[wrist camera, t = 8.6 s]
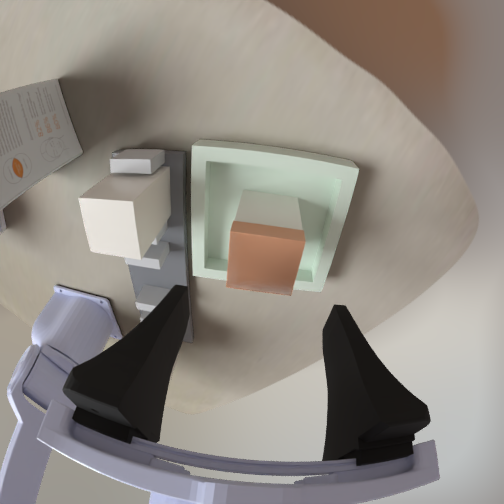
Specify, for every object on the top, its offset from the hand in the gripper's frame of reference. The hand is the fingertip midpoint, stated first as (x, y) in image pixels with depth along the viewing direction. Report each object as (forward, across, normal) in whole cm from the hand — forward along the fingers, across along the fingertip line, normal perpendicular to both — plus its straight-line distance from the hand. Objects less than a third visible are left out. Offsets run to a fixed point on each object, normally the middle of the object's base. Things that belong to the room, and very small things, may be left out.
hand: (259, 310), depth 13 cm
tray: (+10, 0, 0) cm, 10 cm away
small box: (+10, +20, -7) cm, 23 cm away
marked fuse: (+9, 0, 0) cm, 9 cm away
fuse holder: (+10, +10, +6) cm, 15 cm away
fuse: (+9, +10, -2) cm, 13 cm away
